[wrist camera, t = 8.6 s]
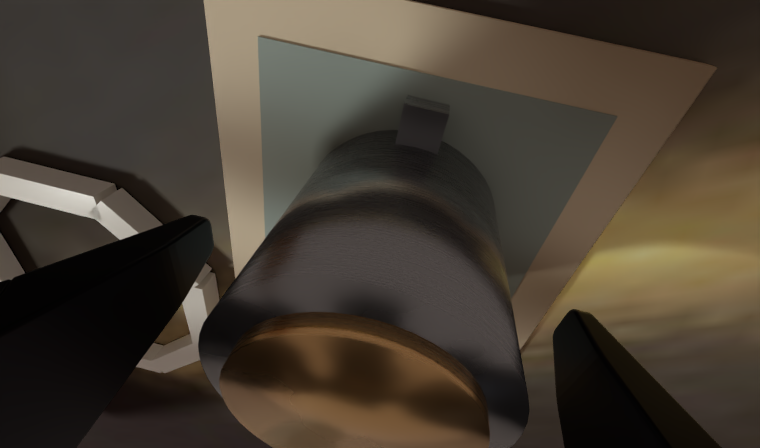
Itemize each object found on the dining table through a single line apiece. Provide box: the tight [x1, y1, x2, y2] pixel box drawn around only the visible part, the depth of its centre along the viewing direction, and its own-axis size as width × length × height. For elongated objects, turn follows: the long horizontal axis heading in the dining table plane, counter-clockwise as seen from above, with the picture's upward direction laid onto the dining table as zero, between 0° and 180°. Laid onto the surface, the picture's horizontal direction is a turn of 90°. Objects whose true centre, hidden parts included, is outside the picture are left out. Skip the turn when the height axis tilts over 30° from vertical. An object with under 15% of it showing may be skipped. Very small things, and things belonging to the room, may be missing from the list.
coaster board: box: [204, 0, 717, 349], centre depth 11 cm, size 11×11×1 cm
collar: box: [0, 157, 219, 373], centre depth 15 cm, size 11×11×1 cm
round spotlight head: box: [198, 95, 529, 448], centre depth 8 cm, size 6×7×6 cm
